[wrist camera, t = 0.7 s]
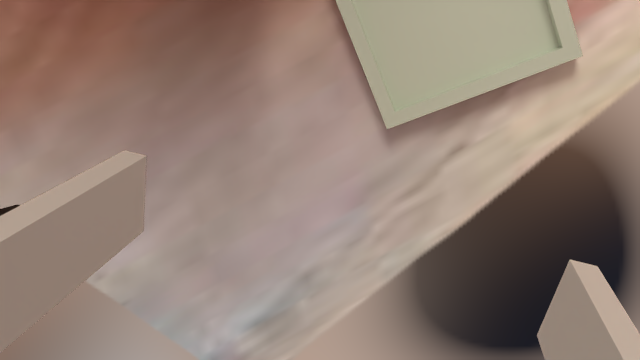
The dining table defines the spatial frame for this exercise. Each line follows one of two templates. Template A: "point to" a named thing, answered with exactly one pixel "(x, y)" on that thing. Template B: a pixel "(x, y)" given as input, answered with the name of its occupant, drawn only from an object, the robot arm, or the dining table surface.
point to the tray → (453, 48)
